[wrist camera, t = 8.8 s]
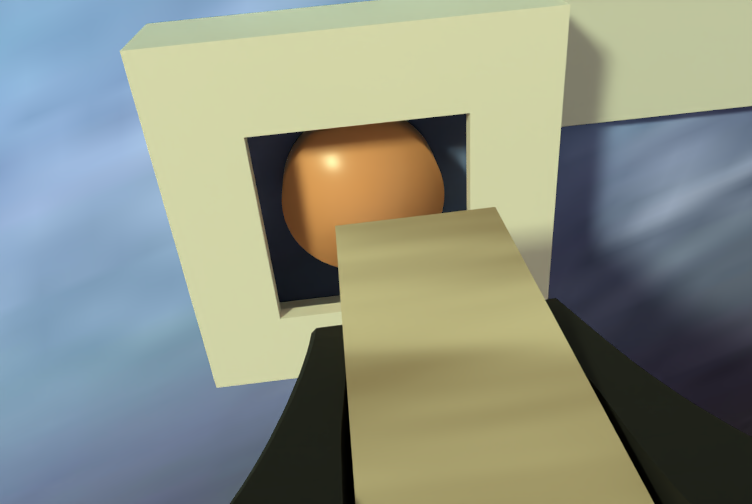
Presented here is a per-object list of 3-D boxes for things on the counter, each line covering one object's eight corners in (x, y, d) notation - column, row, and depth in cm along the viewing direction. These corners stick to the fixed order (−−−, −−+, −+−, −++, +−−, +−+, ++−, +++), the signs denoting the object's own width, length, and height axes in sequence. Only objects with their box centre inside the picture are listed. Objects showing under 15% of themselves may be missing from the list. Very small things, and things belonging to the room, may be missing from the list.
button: (439, 239, 22) (446, 260, 21) (295, 255, 22) (294, 278, 21) (434, 99, 20) (442, 115, 18) (271, 116, 19) (268, 133, 18)
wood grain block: (492, 331, 16) (667, 777, 8) (351, 349, 16) (393, 818, 8) (495, 206, 14) (723, 630, 6) (335, 226, 14) (368, 681, 6)
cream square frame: (519, 296, 24) (544, 347, 22) (226, 330, 24) (216, 387, 21) (533, -16, 18) (570, 4, 16) (146, 23, 18) (119, 51, 15)
